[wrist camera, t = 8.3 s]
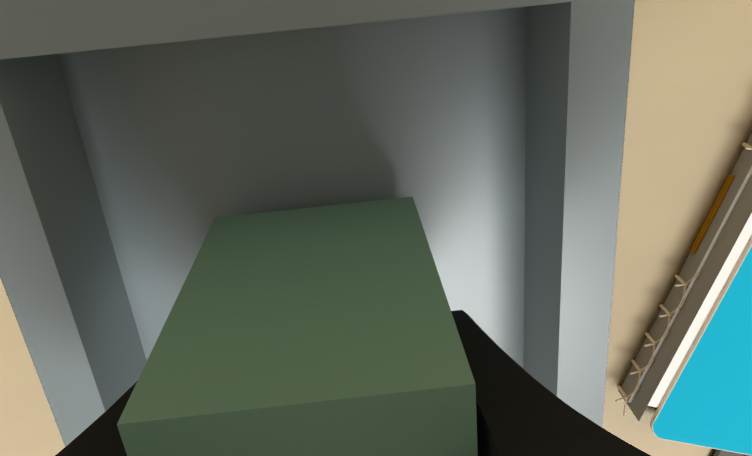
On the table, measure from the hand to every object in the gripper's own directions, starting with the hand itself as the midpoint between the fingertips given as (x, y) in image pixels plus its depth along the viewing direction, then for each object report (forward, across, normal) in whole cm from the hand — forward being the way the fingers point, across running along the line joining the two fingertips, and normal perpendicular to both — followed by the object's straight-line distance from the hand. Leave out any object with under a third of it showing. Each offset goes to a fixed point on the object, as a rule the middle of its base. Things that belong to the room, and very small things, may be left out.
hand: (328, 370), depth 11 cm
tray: (+3, 0, 0) cm, 3 cm away
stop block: (+2, 0, 0) cm, 2 cm away
